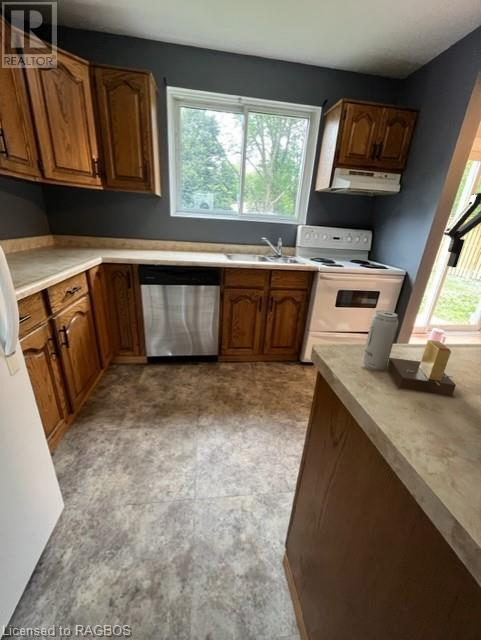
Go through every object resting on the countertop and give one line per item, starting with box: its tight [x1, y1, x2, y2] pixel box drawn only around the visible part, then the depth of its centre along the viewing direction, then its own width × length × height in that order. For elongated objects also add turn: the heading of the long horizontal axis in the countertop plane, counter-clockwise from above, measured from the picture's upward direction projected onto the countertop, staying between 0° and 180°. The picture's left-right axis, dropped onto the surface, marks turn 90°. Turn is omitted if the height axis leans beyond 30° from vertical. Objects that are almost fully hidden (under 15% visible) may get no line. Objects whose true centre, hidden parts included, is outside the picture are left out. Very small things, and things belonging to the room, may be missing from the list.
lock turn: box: [419, 339, 452, 381], centre depth 63 cm, size 6×2×8 cm, turn 168°
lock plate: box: [386, 357, 457, 397], centre depth 65 cm, size 12×11×3 cm
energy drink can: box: [361, 310, 399, 372], centre depth 70 cm, size 6×6×15 cm
